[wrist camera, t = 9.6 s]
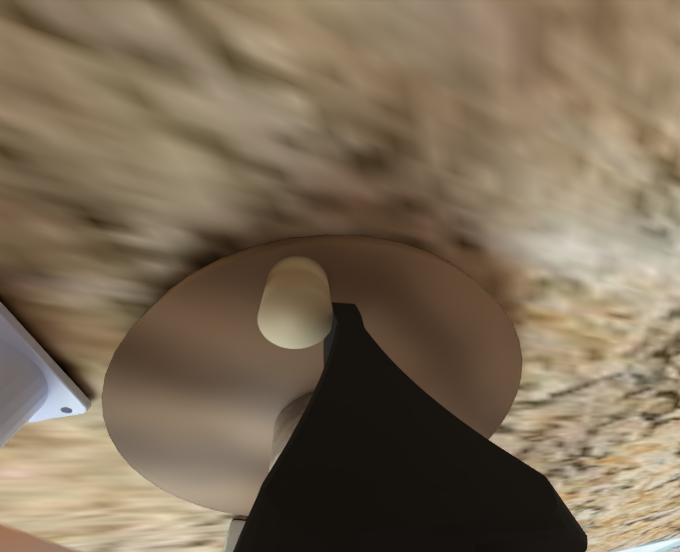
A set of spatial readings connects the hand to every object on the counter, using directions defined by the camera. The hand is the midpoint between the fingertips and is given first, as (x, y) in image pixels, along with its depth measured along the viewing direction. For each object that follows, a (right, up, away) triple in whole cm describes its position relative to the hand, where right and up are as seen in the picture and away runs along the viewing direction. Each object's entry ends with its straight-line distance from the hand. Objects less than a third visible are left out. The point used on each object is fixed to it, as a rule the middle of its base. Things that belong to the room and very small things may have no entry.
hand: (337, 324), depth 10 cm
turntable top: (-1, -6, +7) cm, 9 cm away
